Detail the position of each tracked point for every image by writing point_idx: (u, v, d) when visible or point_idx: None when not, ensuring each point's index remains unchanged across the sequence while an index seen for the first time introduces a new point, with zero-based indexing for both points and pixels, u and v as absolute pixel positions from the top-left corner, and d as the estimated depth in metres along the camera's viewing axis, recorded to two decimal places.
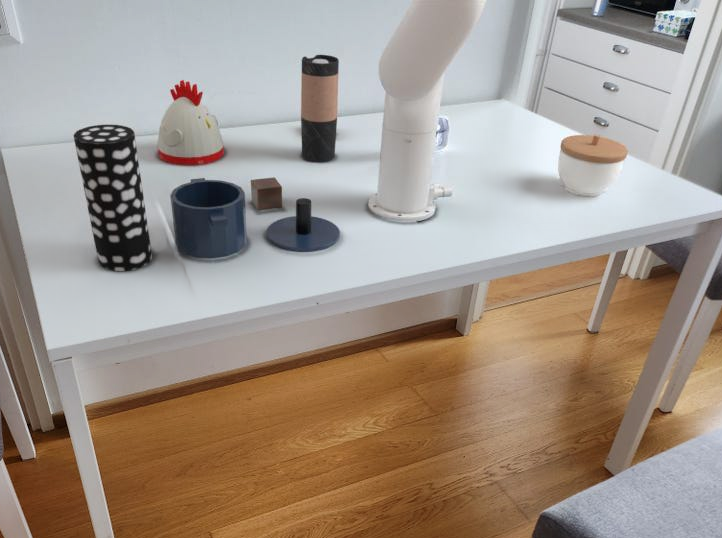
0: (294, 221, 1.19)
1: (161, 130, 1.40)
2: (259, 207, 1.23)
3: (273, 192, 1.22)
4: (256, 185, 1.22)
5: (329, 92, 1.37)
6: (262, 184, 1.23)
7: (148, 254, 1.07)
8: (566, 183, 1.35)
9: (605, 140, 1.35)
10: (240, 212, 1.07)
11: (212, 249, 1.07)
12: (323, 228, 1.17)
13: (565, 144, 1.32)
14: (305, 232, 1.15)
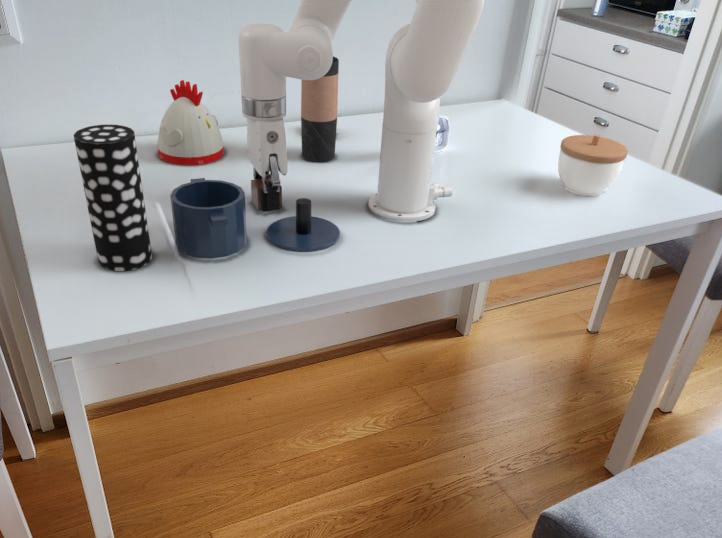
0: (294, 221, 1.19)
1: (161, 130, 1.40)
2: (259, 207, 1.23)
3: None
4: (256, 185, 1.22)
5: (329, 92, 1.37)
6: (262, 184, 1.23)
7: (148, 254, 1.07)
8: (566, 183, 1.35)
9: (605, 140, 1.35)
10: (240, 212, 1.07)
11: (212, 249, 1.07)
12: (323, 228, 1.17)
13: (565, 144, 1.32)
14: (305, 232, 1.15)
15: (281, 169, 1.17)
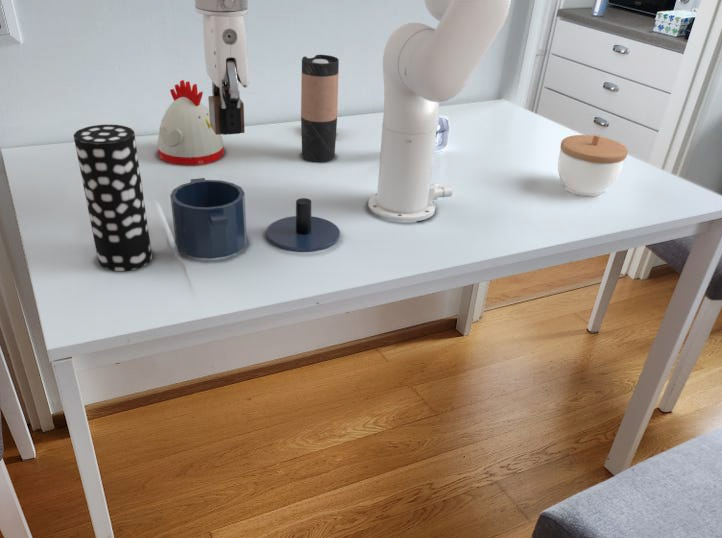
0: (294, 221, 1.19)
1: (161, 130, 1.40)
2: (217, 127, 1.05)
3: None
4: (213, 101, 1.04)
5: (329, 92, 1.37)
6: None
7: (148, 254, 1.07)
8: (566, 183, 1.35)
9: (605, 140, 1.35)
10: (240, 212, 1.07)
11: (212, 249, 1.07)
12: (323, 228, 1.17)
13: (565, 144, 1.32)
14: (305, 232, 1.15)
15: (241, 78, 0.99)
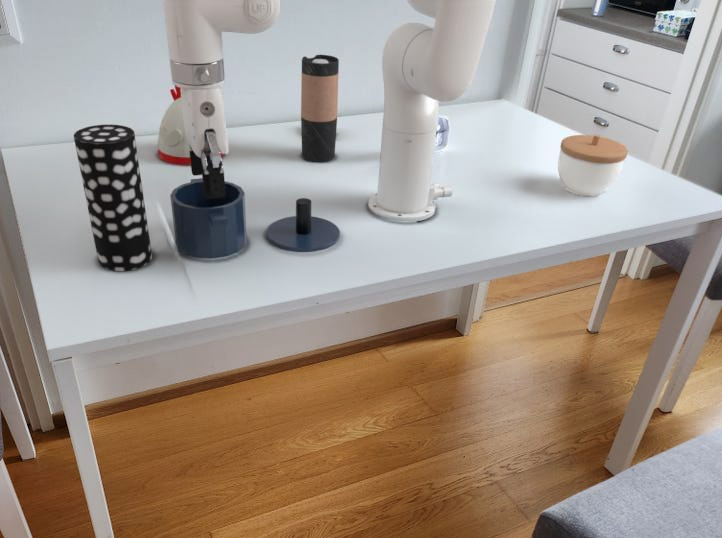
0: (294, 221, 1.19)
1: (161, 130, 1.40)
2: None
3: None
4: None
5: (329, 92, 1.37)
6: None
7: (148, 254, 1.07)
8: (566, 183, 1.35)
9: (605, 140, 1.35)
10: (240, 212, 1.07)
11: (212, 249, 1.07)
12: (323, 228, 1.17)
13: (565, 144, 1.32)
14: (305, 232, 1.15)
15: (220, 148, 0.99)
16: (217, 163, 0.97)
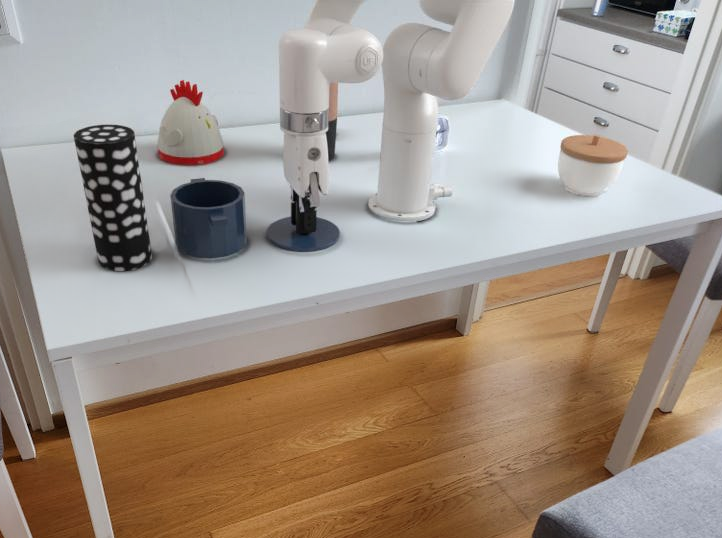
0: None
1: (161, 130, 1.40)
2: None
3: None
4: None
5: (329, 92, 1.37)
6: None
7: (148, 254, 1.07)
8: (566, 183, 1.35)
9: (605, 140, 1.35)
10: (240, 212, 1.07)
11: (212, 249, 1.07)
12: (323, 228, 1.17)
13: (565, 144, 1.32)
14: None
15: (322, 189, 1.07)
16: None
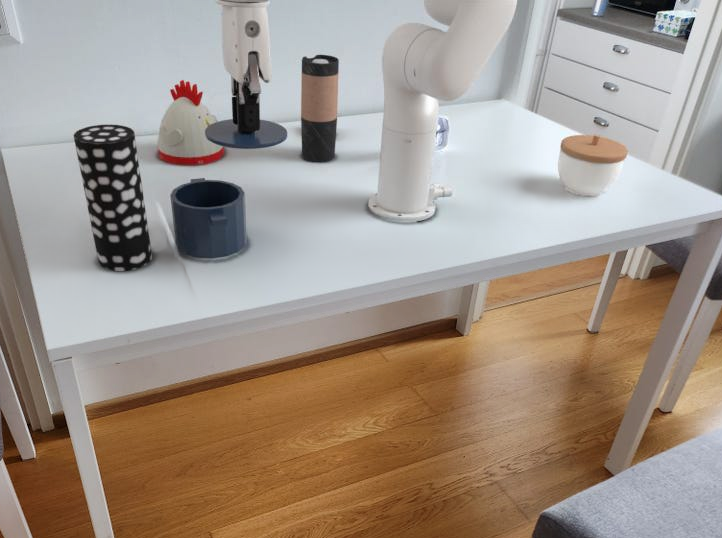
0: None
1: (161, 130, 1.40)
2: None
3: None
4: None
5: (329, 92, 1.37)
6: None
7: (148, 254, 1.07)
8: (566, 183, 1.35)
9: (605, 140, 1.35)
10: (240, 212, 1.07)
11: (212, 249, 1.07)
12: (269, 129, 1.04)
13: (565, 144, 1.32)
14: (248, 131, 1.02)
15: (263, 73, 0.94)
16: (255, 95, 0.96)
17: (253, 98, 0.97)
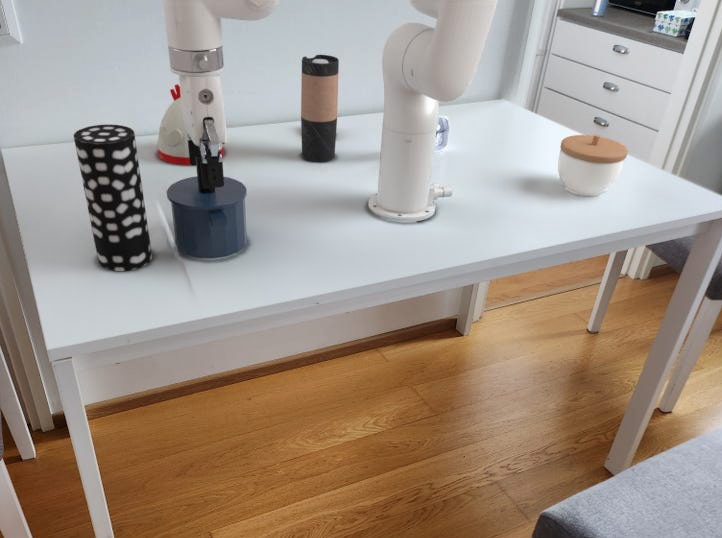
0: None
1: (161, 130, 1.40)
2: None
3: None
4: None
5: (329, 92, 1.37)
6: None
7: (148, 254, 1.07)
8: (566, 183, 1.35)
9: (605, 140, 1.35)
10: (240, 212, 1.07)
11: (212, 249, 1.07)
12: (229, 187, 1.09)
13: (565, 144, 1.32)
14: (207, 191, 1.06)
15: (219, 136, 0.98)
16: (216, 151, 0.96)
17: (215, 158, 0.98)
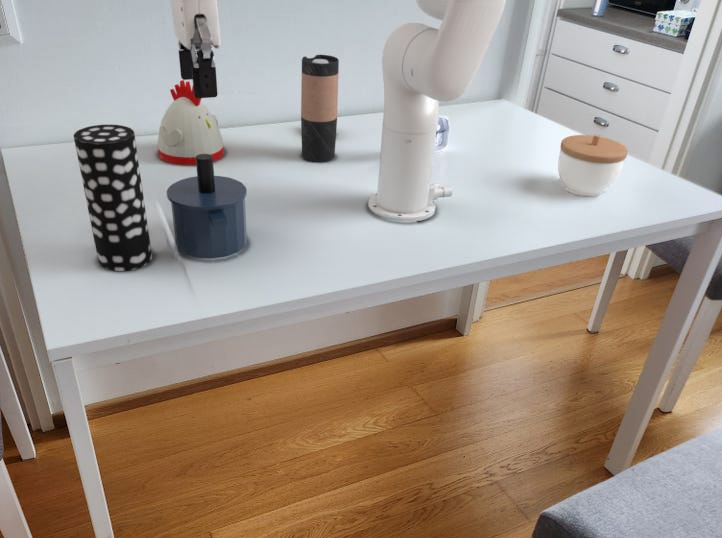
0: None
1: (161, 130, 1.40)
2: None
3: None
4: None
5: (329, 92, 1.37)
6: None
7: (148, 254, 1.07)
8: (566, 183, 1.35)
9: (605, 140, 1.35)
10: (240, 212, 1.07)
11: (212, 249, 1.07)
12: (229, 187, 1.09)
13: (565, 144, 1.32)
14: (207, 191, 1.06)
15: (212, 38, 0.90)
16: (208, 52, 0.88)
17: (207, 61, 0.90)
